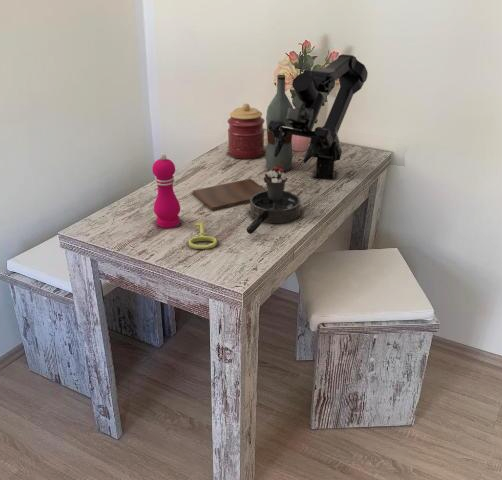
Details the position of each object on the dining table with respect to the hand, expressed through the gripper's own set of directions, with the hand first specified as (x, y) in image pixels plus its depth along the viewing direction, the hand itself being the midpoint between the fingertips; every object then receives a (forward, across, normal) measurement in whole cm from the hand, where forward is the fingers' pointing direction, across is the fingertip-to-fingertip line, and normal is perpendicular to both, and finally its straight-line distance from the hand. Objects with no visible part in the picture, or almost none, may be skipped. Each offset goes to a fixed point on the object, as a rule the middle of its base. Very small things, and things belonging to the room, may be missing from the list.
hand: (289, 159), depth 164 cm
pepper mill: (+30, -22, -11) cm, 39 cm away
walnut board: (+12, -17, +7) cm, 22 cm away
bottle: (-8, -16, +27) cm, 32 cm away
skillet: (+15, 0, +4) cm, 16 cm away
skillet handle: (+23, +2, -7) cm, 24 cm away
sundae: (+15, 0, +4) cm, 16 cm away
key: (+32, -8, -13) cm, 36 cm away
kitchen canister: (-12, -33, +31) cm, 47 cm away
